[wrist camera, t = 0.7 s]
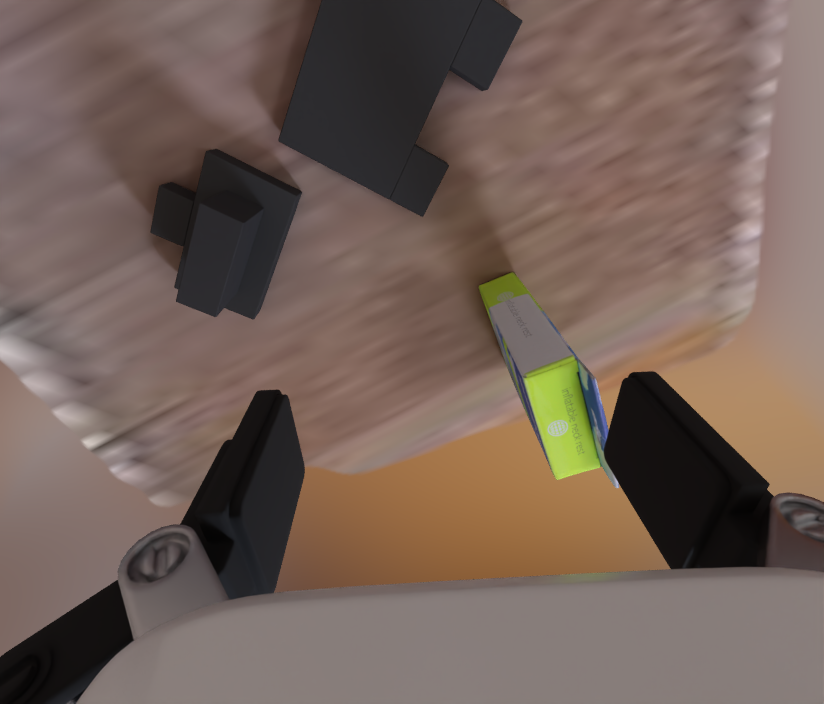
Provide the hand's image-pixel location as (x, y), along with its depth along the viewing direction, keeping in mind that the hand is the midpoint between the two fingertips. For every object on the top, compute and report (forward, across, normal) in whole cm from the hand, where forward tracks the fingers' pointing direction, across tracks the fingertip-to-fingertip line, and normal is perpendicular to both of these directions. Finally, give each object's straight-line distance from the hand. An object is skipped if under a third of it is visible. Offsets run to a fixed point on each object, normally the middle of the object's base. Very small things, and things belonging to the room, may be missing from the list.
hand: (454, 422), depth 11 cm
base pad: (+27, +1, -10) cm, 28 cm away
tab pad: (+27, +16, 0) cm, 31 cm away
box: (+27, -9, +11) cm, 31 cm away
